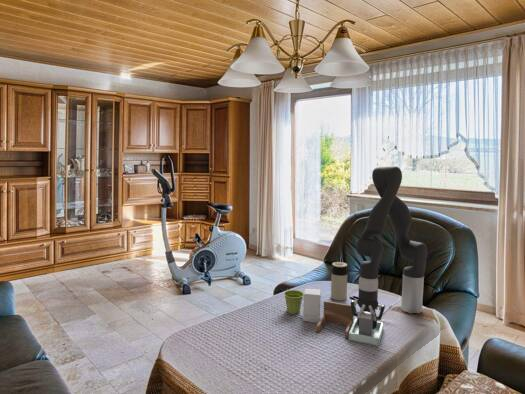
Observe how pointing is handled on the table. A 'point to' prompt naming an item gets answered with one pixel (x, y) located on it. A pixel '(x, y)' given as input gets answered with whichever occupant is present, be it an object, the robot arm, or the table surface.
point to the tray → (365, 339)
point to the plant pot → (293, 300)
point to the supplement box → (311, 305)
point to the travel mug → (339, 281)
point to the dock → (337, 316)
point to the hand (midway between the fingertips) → (366, 327)
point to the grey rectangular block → (366, 324)
